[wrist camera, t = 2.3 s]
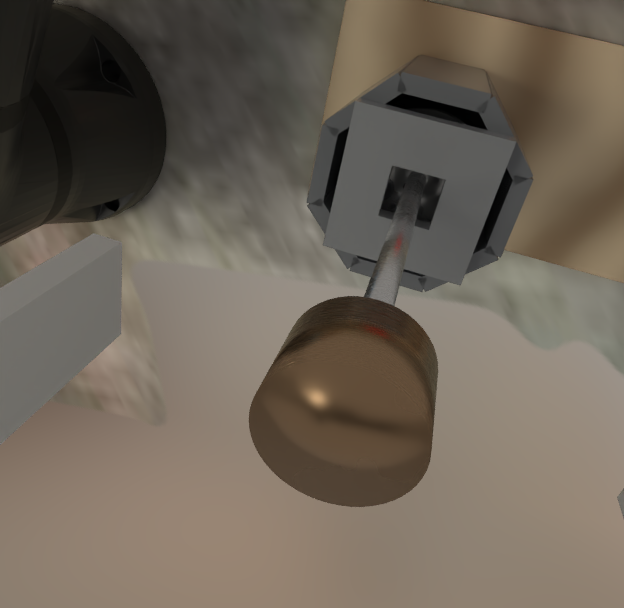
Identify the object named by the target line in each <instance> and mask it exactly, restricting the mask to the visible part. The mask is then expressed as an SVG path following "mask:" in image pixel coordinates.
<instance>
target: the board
mask: <svg viewBox="0 0 624 608" xmlns="http://www.w3.org/2000/svg"><path fill="white" fill-rule="evenodd" d="M421 54H422V55H426V56H430V57H435V58H439V59H443V60H447V61H451V62H455V63H460V64H464V65H468V66H472V67H476V68H480V69H485V72H486V71H487V73H488V75H489V77H490V79H491V81H492V83H493V85H494V87H495V89H496V91H497V93H498V96H499V98H500V100H501V102H502V104H503V106H504V108H505V110H506V112H507V114H508V116H509V118H510V120H511V122H512V124H513V126H514V128H515V131H516V133H517V136H518V138H519V141H520V144H521V146H522V149H523V151H524V154H525V156H526V159H527V161H528V164H529V166H530V169H531V171H532V174H533V182H532V185H531V187H530V189H529V192H528V194H527V196H526V199H525V201H524V204H523V206H522V208H521V211H520V213H519V215H518V218H517V220H516V222H515V225H514V227H513V230H512V232H511V234H510V237H509V239H508V241H507V244H506V246H505V249H504V250H507V251H511V252H514V253H518V254H521V255H525V256H528V257H532V258H536V259H539V260H543V261H546V262H550V263H553V264H557V265H561V266H564V267H568V268H571V269H575V270H579V271H582V272H586V273H589V274H593V275H596V276H600V277H604V278H607V279H611V280H614V281H618V282H621V283H624V46H621V45H617V44H613V43H608V42H604V41H599V40H595V39H591V38H586V37H582V36H577V35H573V34H569V33H564V32H560V31H555V30H551V29H547V28H542V27H538V26H533V25H529V24H525V23H520V22H516V21H512V20H507V19H503V18H498V17H494V16H490V15H485V14H481V13H476V12H472V11H468V10H463V9H459V8H454V7H450V6H446V5H441V4H437V3H432V2H428V1H424V0H346V4H345V9H344V14H343V19H342V24H341V29H340V34H339V39H338V44H337V49H336V54H335V59H334V64H333V69H332V74H331V79H330V85H329V90H328V95H327V100H326V105H325V110H324V115H323V120H322V124H323V123H325V122H324V121H325V120H327V119H328V118H329V117H331V116H332V115H333V114H335V113H336V112H337V111H338V110H340V109H341V108H342V107H344V106H345V105H346V104H348V103H349V102H350V101H352V100H353V99H354V98H356V97H357V96H358V95H360V94H361V93H362V92H364V91H365V90H367V89H368V88H370V87H371V86H373V85H374V84H376V83H377V82H379V81H380V80H382V79H383V78H385V77H386V76H388V75H389V74H391V73H392V72H394V71H395V70H397V69H398V68H400V67H401V66H403V65H404V64H406V63H407V62H409V61H410V60H412V59H413V58H415V57H416V56H418V55H419V56H420V55H421ZM321 127H322V125H321ZM320 132H321V130H320ZM319 138H320V135H319ZM318 143H319V140H318ZM317 148H318V145H317ZM316 153H317V150H316ZM315 158H316V155H315ZM314 163H315V160H314ZM313 168H314V165H313ZM312 173H313V170H312ZM311 178H312V175H311ZM310 183H311V180H310ZM309 188H310V185H309ZM308 193H309V191H308Z"/></svg>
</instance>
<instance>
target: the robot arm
mask: <svg viewBox="0 0 624 608" xmlns="http://www.w3.org/2000/svg"><path fill="white" fill-rule="evenodd" d="M165 148H166V127H165V119H164V114H163V109H162V105H161V101H160V98H159V95H158V92H157V90H156V87H155V85H154V83H153V80H152V78H151V76H150V74H149V72H148V71H147V69H146V67H145V66H144V64H143V62H142V61H141V59H140V58H139V56H138V55H137V54H136V52H135V51H134V50H133V48H132V47H131V46H130V45H129V44H128V43H127V42H126V41H125V40H124V39H123V37H122V36H121V35H119V34H118V33H117V32H116V31H115V30H114V29H113V28H111V27H110V26H109V25H108V24H106V23H105V22H103V21H102V20H100V19H99V18H97V17H95V16H93V15H91V14H89V13H87V12H85V11H83V10H80V9H77V8H74V7H71V6H66V5H59V4H53V0H0V246H2V245H4V244H6V243H8V242H10V241H12V240H14V239H16V238H18V237H20V236H22V235H24V234H26V233H28V232H29V231H31V230H33V229H35V228H37V227H39V226H41V225H43V224H56V223H77V222H94V221H99V220H104V219H107V218H110V217H113V216H115V215H117V214H119V213H121V212H122V211H124V210H126V209H128V208H129V207H131V206H133V205H135V204H136V203H137V202H139V201H140V200H141V199H142V198H143V197H144V196H145V195H146V194H147V193H148V192H149V191H150V190H151V188H152V187H153V185H154V184H155V182H156V180H157V178H158V176H159V173H160V171H161V168H162V165H163V161H164V156H165ZM121 287H122V242H120V241H117V240H114V239H110V238H107V237H104V236H100V235H97V234H94V233H93V234H92V235H90V236H88V237H87V238H85V239H83V240H81V241H80V242H78V243H76V244H75V245H73V246H71V247H69V248H68V249H66V250H64V251H63V252H61V253H59V254H58V255H56V256H54V257H52V258H51V259H49V260H47V261H46V262H44V263H42V264H40V265H39V266H37V267H35V268H34V269H32V270H30V271H28V272H27V273H25V274H23V275H22V276H20V277H18V278H16V279H15V280H13V281H11V282H10V283H8V284H6V285H4V286H3V287H1V288H0V444H1V443H3V442H4V441H5V440H6V439H7V438H8V437H9V436H10V435H11V434H12V433H14V432H15V431H16V430H17V429H18V428H19V427H20V426H21V425H22V424H23V423H24V422H26V421H27V420H28V419H29V418H30V417H31V416H32V415H33V414H34V413H35V412H36V411H37V410H39V409H40V408H41V407H42V406H43V405H44V404H45V403H46V402H47V401H48V400H50V399H51V398H52V397H53V396H54V395H55V394H56V393H57V392H58V391H59V390H60V389H61V388H63V387H64V386H65V385H66V384H67V383H68V382H69V381H70V380H71V379H72V378H73V377H75V376H76V375H77V374H78V373H79V372H80V371H81V370H82V369H83V368H84V367H85V366H87V365H88V364H89V363H90V362H91V361H92V360H93V359H94V358H95V357H96V356H97V355H99V354H100V353H101V352H102V351H103V350H104V349H105V348H106V347H107V346H108V345H109V344H111V343H112V342H113V341H114V340H115V339H116V338H117V337H118V336H119V335H120V334H121ZM617 498H618V501H619V505H620V508H621V511H622V514H623V517H624V489H623V490H622V492H621V493H620V494H619V496H618V497H617Z"/></svg>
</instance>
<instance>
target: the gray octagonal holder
mask: <svg viewBox="0 0 624 608" xmlns="http://www.w3.org/2000/svg"><path fill="white" fill-rule="evenodd" d="M418 107H424V108H434V109H439V110H442V111H445V112H447V113H450V114H452V115H454V116H455V117H457V118H458V119H460V120H461V121H463V122H464V123H465V124H466V125H465V124H461V123H457V122H453V121H449V120H445V119H441V118H438V117H434V116H430V115H426V114H422V113H418V112H414V111H410V110H406V109H409V108H418ZM324 122H325V123H323V124H322V127H321V132H320V138H319V143H318V148H317V153H316V158H315V163H314V168H313V173H312V178H311V183H310V188H309V193H308V198H307V203H309V204H308V205H307V206H308V208H309V209H310V211H311V213H312V214H313V216H314V217H315V219H316V220H317V222H318V224H319V225H320V227H321V228H322V230H323V231H324V233H325V238H324V243H323V246H327V247H330V248H333V249H335V250H336V252H337V253H338V255H339V257H340V258H341V260H342V261H343V263H344V265H345V266H346V268H347V269H348V268H350V267H351V268H350V271H352V272H356V273H359V274H363V275H366V276H369V277H371V276H372V274H373V271H374V268H375V266H376V263H377V260H378V257H379V255H380V252H381V249H382V246H383V244H384V241H385V238H386V236H387V233H388V230H389V227H390V225H391V222H392V219H393V216H394V214H395V213H393V212H390V211H386V210H382V209H381V208H382V204H383V200H384V197H385V193H386V190H387V186H388V182H389V179H390V175H391V172H392V168H393V166H397V167H400V168H404V169H408V170H412V171H415V172H419V173H423V174H427V175H430V176H434V177H438V178H442V179H445V180H444V183H443V186H442V189H441V192H440V195H439V198H438V201H437V204H436V207H435V210H434V213H433V216H432V219H431V222H430V223H429V222H426V221H422V220H418V219H416V222H415V226H414V230H413V234H412V238H411V242H410V246H409V250H408V254H407V258H406V262H405V266H404V269H403V273H402V277H401V281H400V286H403V287H407V288H410V289H413V290H417V291H420V292H422V291H423V289H424V290H425V292H426V291H429V290H431V289H433V288H435V287H438V286H440V285H442V284H444V283H447V282H450V283H454V284H457V285H461V283H462V280H463V278H464V275H465V274H467V273H469V272H472V271H474V270H476V269H479V268H481V267H483V266H485V265H488V264H490V263H492V262H494V261H497V260H498V257H501V256H502V253H503V251H504V249H505V246H506V244H507V241H508V239H509V237H510V234H511V232H512V230H513V227H514V225H515V222H516V220H517V218H518V215H519V213H520V211H521V208H522V206H523V204H524V201H525V199H526V196H527V194H528V192H529V189H530V187H531V185H532V182H533V174H532V171H531V169H530V166H529V164H528V161H527V159H526V156H525V154H524V151H523V149H522V146H521V144H520V141H519V138H518V136H517V133H516V131H515V128H514V126H513V124H512V122H511V120H510V118H509V116H508V114H507V112H506V110H505V108H504V106H503V104H502V102H501V100H500V98H499V96H498V93H497V91H496V89H495V87H494V85H493V83H492V81H491V79H490V77H489V75H488V73H487V71H486V72H485V69H480V68H476V67H472V66H468V65H464V64H460V63H455V62H451V61H447V60H443V59H439V58H435V57H430V56H426V55H422V54H421V55H420V56H419V55H418V56H416V57H415V58H413V59H412V60H410V61H409V62H407V63H406V64H404V65H403V66H401V67H400V68H398V69H397V70H395V71H394V72H392V73H391V74H389V75H388V76H386V77H385V78H383V79H382V80H380V81H379V82H377V83H376V84H374V85H373V86H371V87H370V88H368V89H367V90H365V91H364V92H362V93H361V94H360V95H358V96H357V97H356V98H354V99H353V100H352V101H350V102H349V103H348V104H346V105H345V106H344V107H342V108H341V109H340V110H338V111H337V112H336V113H335V114H333V115H332V116H331V117H329V118H328V119H327V120H325V121H324Z"/></svg>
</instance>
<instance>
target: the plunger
mask: <svg viewBox="0 0 624 608" xmlns="http://www.w3.org/2000/svg"><path fill="white" fill-rule="evenodd" d="M406 110H410V111H414V112H418V113H422V114H426V115H430V116H434V117H438V118H441V119H445V120H449V121H453V122H457V123H461V124H465V123H464V122H463V121H461V120H460V119H458V118H457V117H455V116H454V115H452V114H450V113H447V112H445V111H442V110H439V109H434V108H424V107H418V108H409V109H406ZM465 125H466V124H465ZM444 180H445V179H442V178H438V177H434V176H430V175H427V174H423V173H419V172H415V171H412V170H408V169H404V168H400V167H397V166H393V168H392V172H391V175H390V179H389V182H388V186H387V190H386V193H385V197H384V200H383V204H382V208H381V209H382V210H386V211H390V212H393V213H395V214H394V216H393V219H392V222H391V225H390V227H389V230H388V233H387V236H386V238H385V241H384V244H383V246H382V249H381V252H380V255H379V257H378V260H377V263H376V266H375V268H374V271H373V274H372V276H371V279H370V282H369V285H368V287H367V290H366V293H365V296H364V297H358V296H356V297H355V296H347V297H338V298H334V299H330V300H327V301H324V302H321V303H319V304H317V305H315V306H314V307H312V308H310V309H309V310H308V311H306V312H305V313H304V314H303V315H302V316H301V317H300V318H299V319H298V320H297V322H296V323H295V325H294V326H293V328H292V330H291V331H290V333H289V335H288V337H287V339H286V341H285V342H284V344H283V346H282V348H281V349H280V351H279V353H278V355H277V357H276V358H275V360H274V362H273V364H272V366H271V367H270V369H269V371H268V373H267V375H266V376H265V378H264V380H263V382H262V384H261V385H260V387H259V389H258V391H257V392H256V394H255V396H254V399H253V401H252V404H251V407H250V412H249V428H250V432H251V437H252V440H253V443H254V445H255V447H256V449H257V451H258V453H259V455H260V456H261V458H262V459H263V461H264V462H265V463H266V464H267V465H268V467H269V468H270V469H271V470H272V471H273V472H274V473H275V474H276V475H277V476H278V477H279V478H280V479H282V480H283V481H284V482H286V483H287V484H288V485H290V486H291V487H293V488H295V489H296V490H298V491H300V492H302V493H304V494H306V495H308V496H310V497H312V498H315V499H318V500H321V501H324V502H327V503H331V504H336V505H342V506H350V507H365V506H374V505H379V504H384V503H387V502H390V501H393V500H395V499H397V498H400V497H402V496H403V495H405V494H406V493H408V492H409V491H411V490H412V489H413V488H414V487H415V486H416V485H417V484H418V483H419V481H420V480H421V479H422V478H423V476H424V474H425V473H426V471H427V468H428V465H429V462H430V457H431V449H432V437H433V425H434V414H435V402H436V390H437V378H438V361H437V356H436V352H435V349H434V346H433V344H432V342H431V340H430V338H429V337H428V335H427V334H426V332H425V331H424V330H423V328H422V327H421V326H420V325H419V324H418V323H417V322H416V321H415V320H414V319H412V318H411V317H410V316H409V315H408V314H406V313H405V312H403V311H402V310H400V309H398V308H397V307H395V306H394V305H395V301H396V297H397V293H398V289H399V285H400V281H401V277H402V273H403V269H404V266H405V262H406V258H407V254H408V250H409V246H410V242H411V238H412V234H413V230H414V226H415V222H416V219H418V220H422V221H426V222H429V223H430V222H431V219H432V216H433V213H434V210H435V207H436V204H437V201H438V198H439V195H440V192H441V189H442V186H443V183H444Z"/></svg>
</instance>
